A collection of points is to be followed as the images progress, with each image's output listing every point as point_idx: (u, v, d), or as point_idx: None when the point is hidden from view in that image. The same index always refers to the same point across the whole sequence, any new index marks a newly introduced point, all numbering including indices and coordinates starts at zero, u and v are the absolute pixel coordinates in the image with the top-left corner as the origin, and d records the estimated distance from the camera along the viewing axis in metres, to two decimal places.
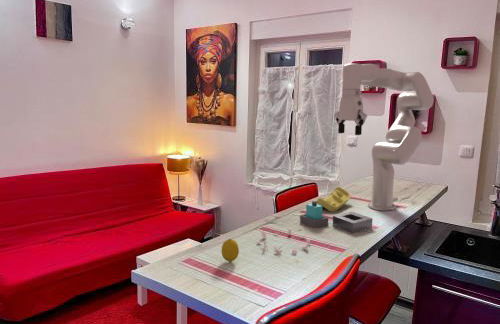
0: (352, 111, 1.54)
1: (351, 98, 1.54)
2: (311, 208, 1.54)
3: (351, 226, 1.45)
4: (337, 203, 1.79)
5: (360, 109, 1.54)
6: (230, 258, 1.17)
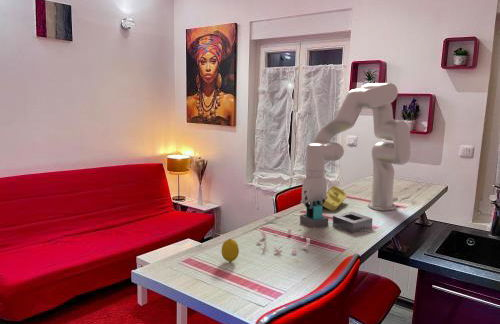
0: (324, 190, 1.54)
1: (323, 178, 1.52)
2: None
3: (351, 226, 1.45)
4: (335, 202, 1.81)
5: None
6: (230, 258, 1.17)
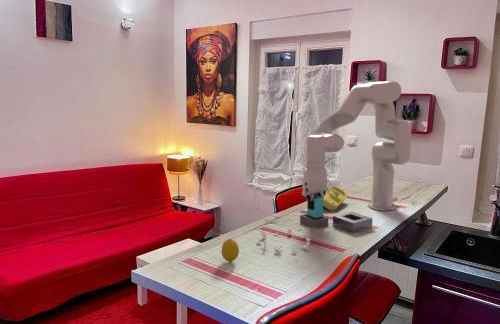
0: (325, 182, 1.53)
1: (323, 170, 1.52)
2: None
3: (351, 226, 1.45)
4: (335, 202, 1.81)
5: None
6: (230, 258, 1.17)
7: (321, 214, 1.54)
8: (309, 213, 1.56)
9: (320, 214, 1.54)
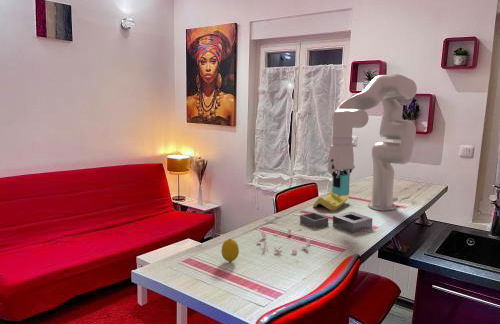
0: (351, 159, 1.49)
1: (350, 146, 1.47)
2: None
3: (351, 226, 1.45)
4: (336, 202, 1.81)
5: None
6: (230, 258, 1.17)
7: (347, 192, 1.49)
8: (334, 191, 1.51)
9: (346, 192, 1.49)
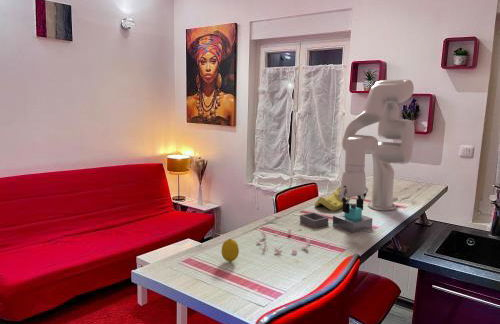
0: (363, 186, 1.49)
1: (363, 173, 1.48)
2: (350, 210, 1.50)
3: (351, 226, 1.45)
4: (339, 202, 1.80)
5: None
6: (230, 258, 1.17)
7: None
8: None
9: None
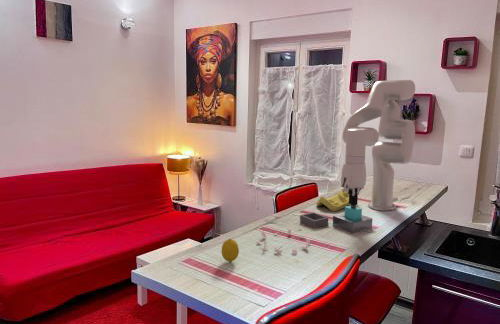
0: (364, 177, 1.48)
1: (363, 165, 1.47)
2: (350, 210, 1.50)
3: (351, 226, 1.45)
4: (341, 203, 1.79)
5: None
6: (230, 258, 1.17)
7: None
8: None
9: None
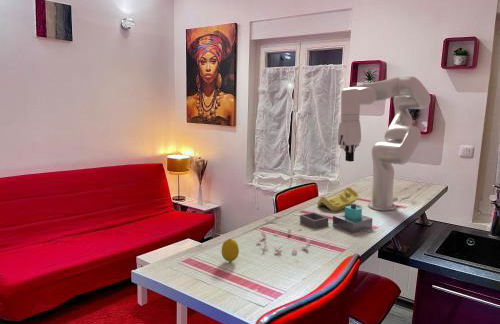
0: (359, 135, 1.57)
1: (358, 122, 1.55)
2: (350, 210, 1.50)
3: (351, 226, 1.45)
4: (342, 203, 1.79)
5: None
6: (230, 258, 1.17)
7: None
8: None
9: None
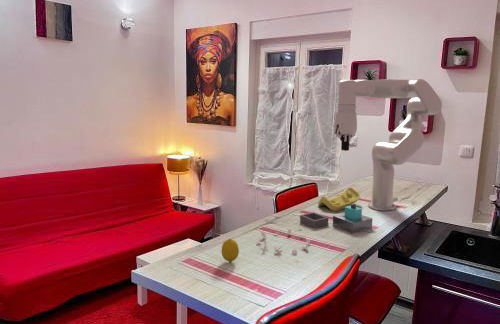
0: (355, 125, 1.63)
1: (354, 113, 1.62)
2: (350, 210, 1.50)
3: (351, 226, 1.45)
4: (343, 203, 1.79)
5: None
6: (230, 258, 1.17)
7: None
8: None
9: None
